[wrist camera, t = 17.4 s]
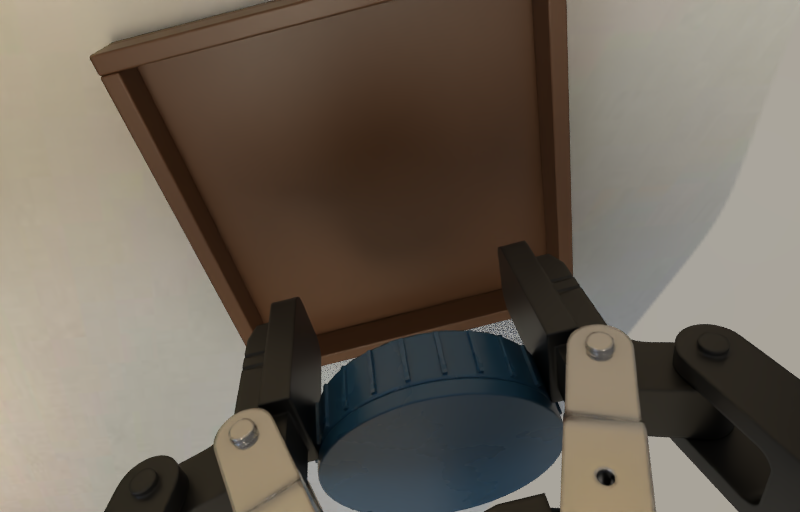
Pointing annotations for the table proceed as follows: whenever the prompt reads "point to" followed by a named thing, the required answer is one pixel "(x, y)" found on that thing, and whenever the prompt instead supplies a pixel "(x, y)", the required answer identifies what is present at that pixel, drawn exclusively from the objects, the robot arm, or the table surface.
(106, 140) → the table surface
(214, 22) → the tray
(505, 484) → the jar lid
